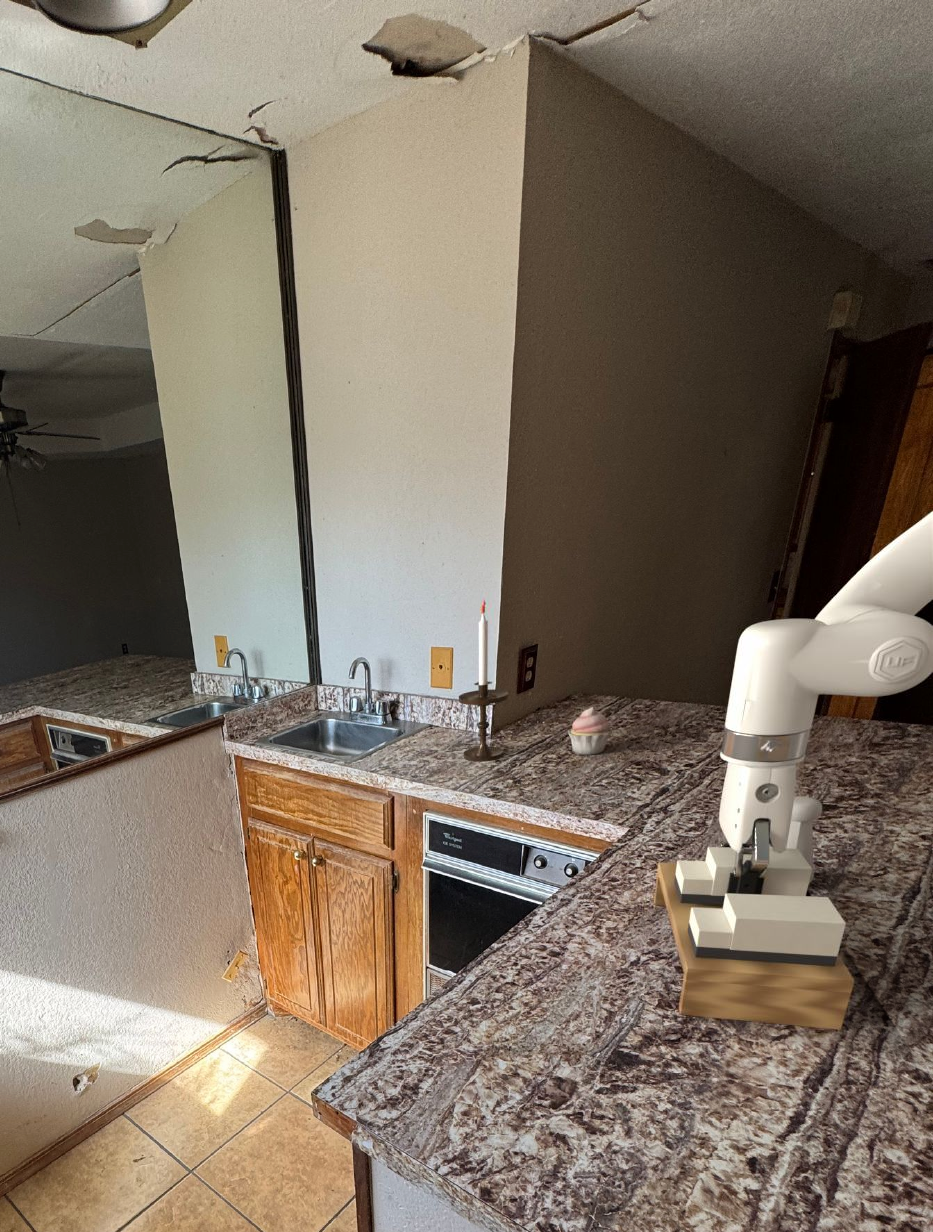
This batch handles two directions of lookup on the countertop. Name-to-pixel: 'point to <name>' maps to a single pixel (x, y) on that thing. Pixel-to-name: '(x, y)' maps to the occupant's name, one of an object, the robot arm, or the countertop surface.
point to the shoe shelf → (752, 978)
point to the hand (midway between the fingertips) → (735, 891)
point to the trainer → (712, 875)
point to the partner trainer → (768, 929)
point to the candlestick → (483, 699)
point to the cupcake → (590, 732)
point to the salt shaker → (804, 827)
